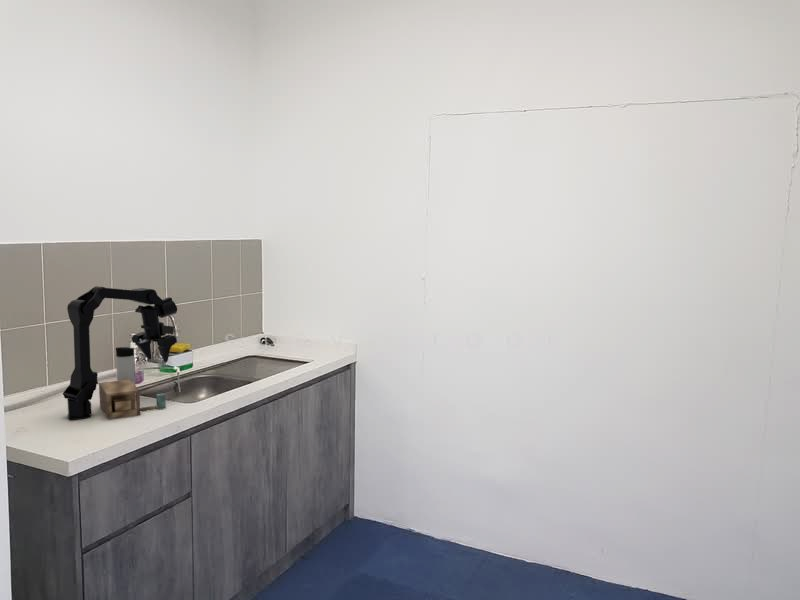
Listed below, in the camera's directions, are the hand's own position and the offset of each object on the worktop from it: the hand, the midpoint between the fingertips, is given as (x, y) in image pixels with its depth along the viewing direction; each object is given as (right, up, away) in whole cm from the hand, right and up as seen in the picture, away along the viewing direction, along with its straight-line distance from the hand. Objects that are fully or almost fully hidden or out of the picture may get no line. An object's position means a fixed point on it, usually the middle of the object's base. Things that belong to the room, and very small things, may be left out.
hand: (158, 360), depth 239 cm
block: (0, -16, -18) cm, 24 cm away
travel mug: (-11, -14, -2) cm, 18 cm away
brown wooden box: (-7, -16, -17) cm, 25 cm away
